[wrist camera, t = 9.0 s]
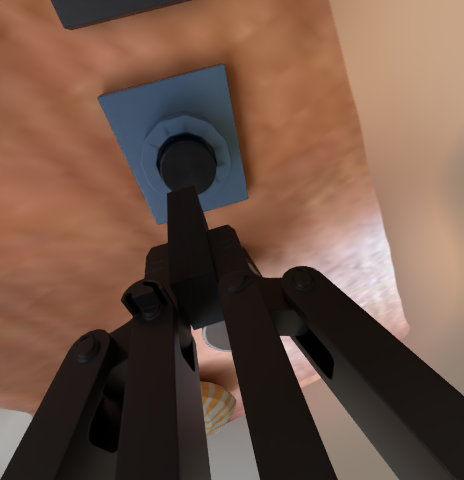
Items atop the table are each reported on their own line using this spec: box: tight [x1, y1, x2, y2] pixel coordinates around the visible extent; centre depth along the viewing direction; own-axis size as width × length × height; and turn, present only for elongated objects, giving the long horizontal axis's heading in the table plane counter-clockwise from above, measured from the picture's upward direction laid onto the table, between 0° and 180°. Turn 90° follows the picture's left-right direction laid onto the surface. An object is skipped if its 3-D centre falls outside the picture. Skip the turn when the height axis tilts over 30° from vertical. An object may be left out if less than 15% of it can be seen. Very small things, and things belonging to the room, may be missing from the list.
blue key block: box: [97, 64, 249, 225], centre depth 22 cm, size 12×10×4 cm
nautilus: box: [200, 381, 236, 436], centre depth 50 cm, size 8×22×15 cm
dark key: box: [160, 136, 216, 195], centre depth 21 cm, size 4×4×2 cm
